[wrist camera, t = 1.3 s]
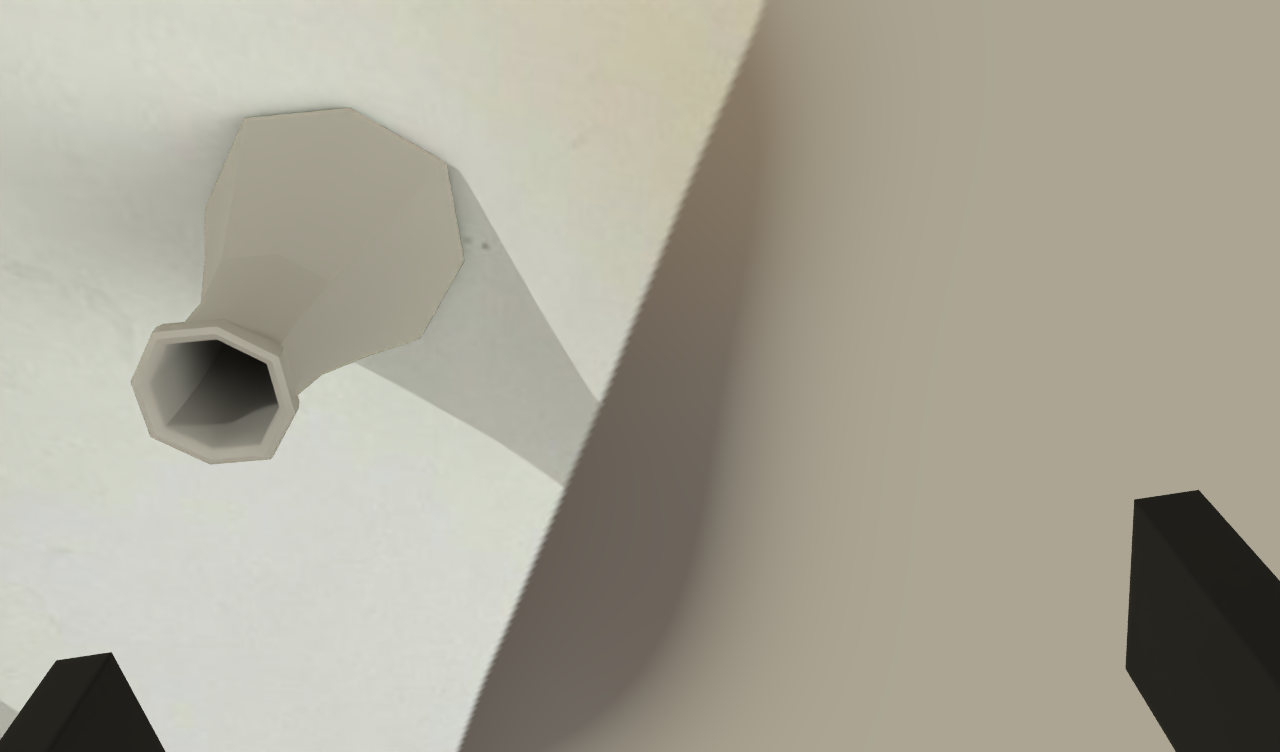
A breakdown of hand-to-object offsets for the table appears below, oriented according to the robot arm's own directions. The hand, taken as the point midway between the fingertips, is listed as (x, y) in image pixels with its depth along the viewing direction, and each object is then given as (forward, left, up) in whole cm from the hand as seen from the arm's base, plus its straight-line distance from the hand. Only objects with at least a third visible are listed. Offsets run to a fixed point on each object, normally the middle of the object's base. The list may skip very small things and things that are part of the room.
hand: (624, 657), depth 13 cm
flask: (+6, -6, -18) cm, 20 cm away
